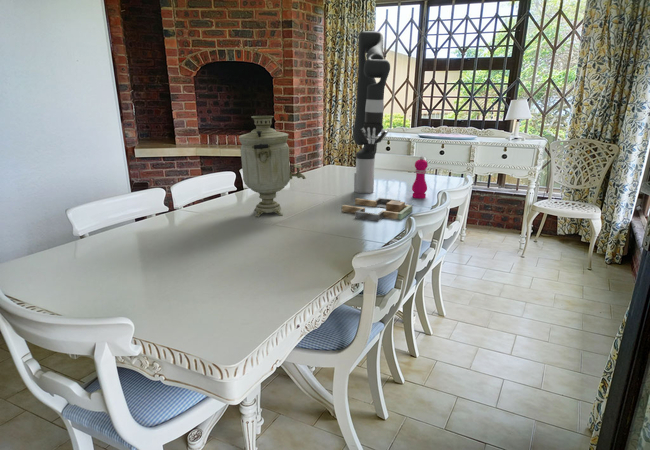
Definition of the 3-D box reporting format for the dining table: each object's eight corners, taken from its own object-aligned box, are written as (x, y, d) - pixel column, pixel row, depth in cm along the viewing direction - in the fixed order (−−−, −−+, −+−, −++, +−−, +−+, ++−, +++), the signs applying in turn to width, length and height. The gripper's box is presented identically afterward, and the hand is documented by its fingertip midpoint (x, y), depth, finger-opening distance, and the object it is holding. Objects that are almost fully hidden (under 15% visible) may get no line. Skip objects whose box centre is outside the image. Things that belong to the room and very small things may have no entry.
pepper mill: (409, 197, 205) (412, 156, 199) (413, 194, 211) (416, 154, 205) (424, 199, 202) (427, 157, 196) (428, 196, 208) (431, 155, 202)
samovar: (294, 225, 163) (292, 119, 151) (230, 221, 168) (223, 118, 156) (312, 205, 191) (311, 114, 179) (257, 202, 196) (252, 113, 184)
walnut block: (385, 214, 178) (386, 203, 176) (390, 211, 183) (391, 200, 181) (399, 217, 175) (399, 205, 173) (404, 213, 180) (404, 202, 178)
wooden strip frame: (335, 214, 177) (335, 209, 177) (361, 200, 200) (361, 195, 199) (396, 223, 165) (396, 217, 165) (416, 207, 188) (416, 202, 187)
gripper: (356, 110, 176) (354, 152, 182) (385, 112, 170) (382, 155, 176) (363, 109, 182) (361, 149, 188) (392, 111, 176) (389, 152, 182)
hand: (371, 152), depth 182 cm, fingers closed
